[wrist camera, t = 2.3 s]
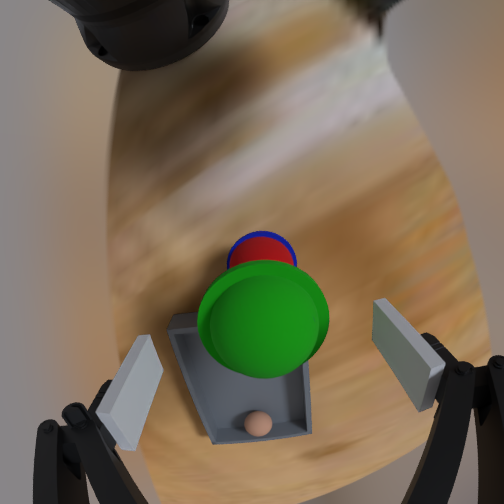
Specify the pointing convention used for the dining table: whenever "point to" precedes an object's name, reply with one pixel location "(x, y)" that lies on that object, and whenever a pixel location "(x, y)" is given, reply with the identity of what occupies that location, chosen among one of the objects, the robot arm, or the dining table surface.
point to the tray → (238, 391)
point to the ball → (258, 423)
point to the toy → (263, 310)
